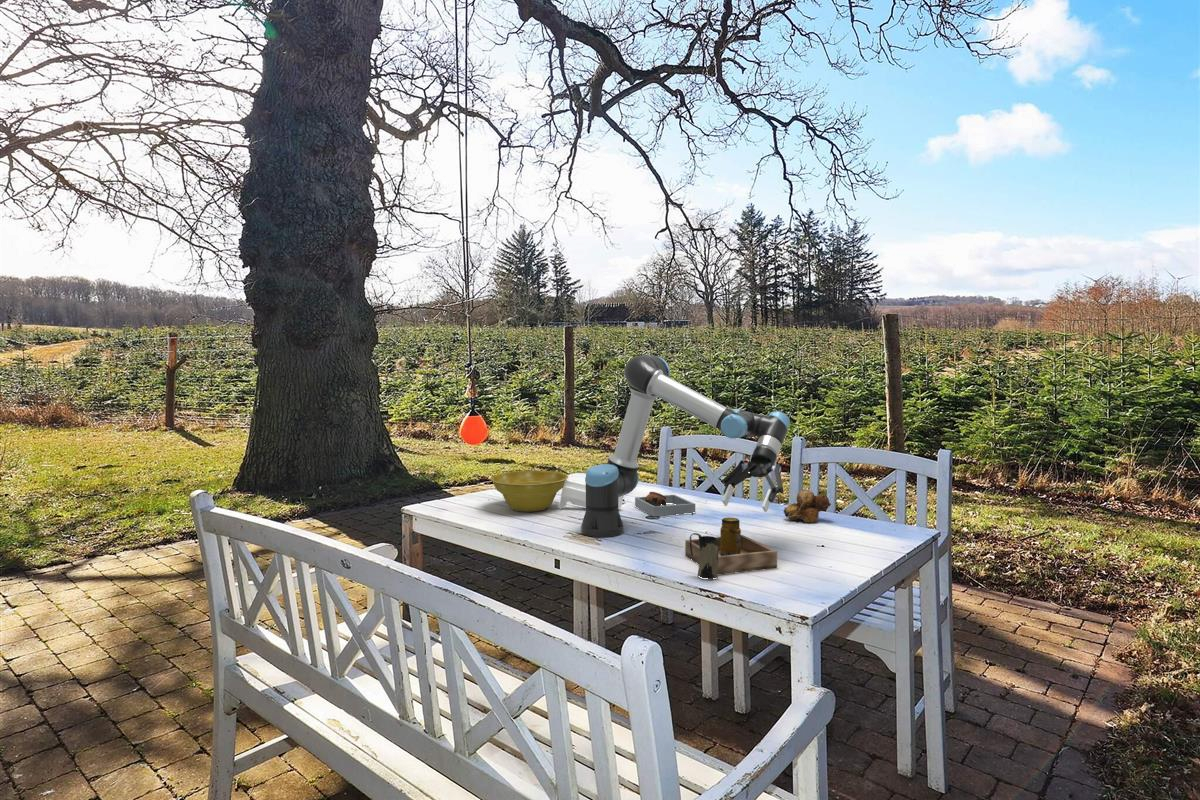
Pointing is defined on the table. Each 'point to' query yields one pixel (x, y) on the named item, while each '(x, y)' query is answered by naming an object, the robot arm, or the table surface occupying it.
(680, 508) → the slate tray rim
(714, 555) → the mug
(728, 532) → the condiment
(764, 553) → the walnut box
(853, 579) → the table surface
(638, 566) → the table surface
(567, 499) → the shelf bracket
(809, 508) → the seed pod
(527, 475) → the planter bowl
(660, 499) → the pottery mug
